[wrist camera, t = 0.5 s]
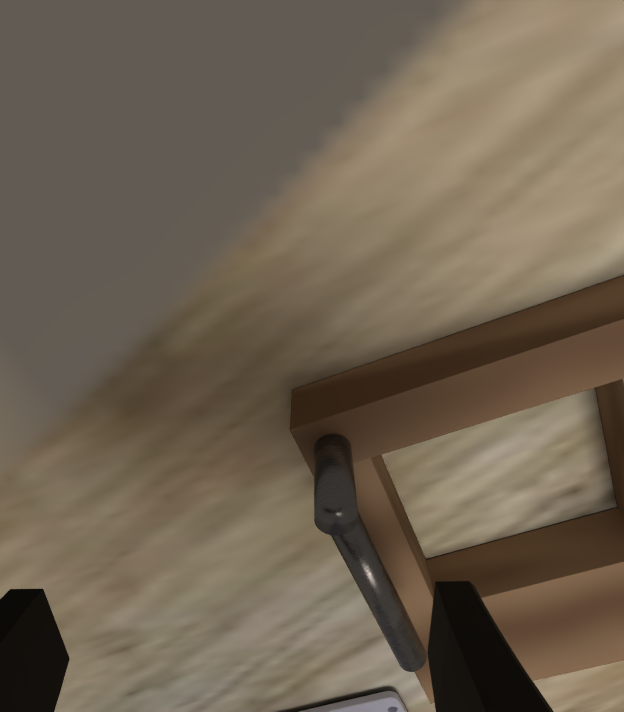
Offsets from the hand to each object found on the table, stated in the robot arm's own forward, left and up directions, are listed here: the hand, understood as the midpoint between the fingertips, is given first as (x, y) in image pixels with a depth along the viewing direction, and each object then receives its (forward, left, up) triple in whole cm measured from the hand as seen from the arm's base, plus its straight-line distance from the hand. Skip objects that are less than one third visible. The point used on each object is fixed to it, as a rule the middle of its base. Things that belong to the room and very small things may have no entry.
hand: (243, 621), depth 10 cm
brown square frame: (-9, -6, -10) cm, 15 cm away
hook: (-6, -1, -10) cm, 11 cm away
